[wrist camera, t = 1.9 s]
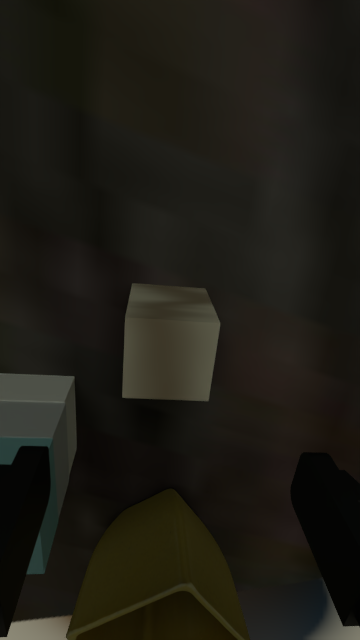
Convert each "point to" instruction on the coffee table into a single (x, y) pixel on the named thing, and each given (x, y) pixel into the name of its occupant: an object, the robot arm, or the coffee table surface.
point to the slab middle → (40, 432)
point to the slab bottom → (44, 397)
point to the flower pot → (157, 579)
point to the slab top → (4, 453)
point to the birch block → (169, 343)
